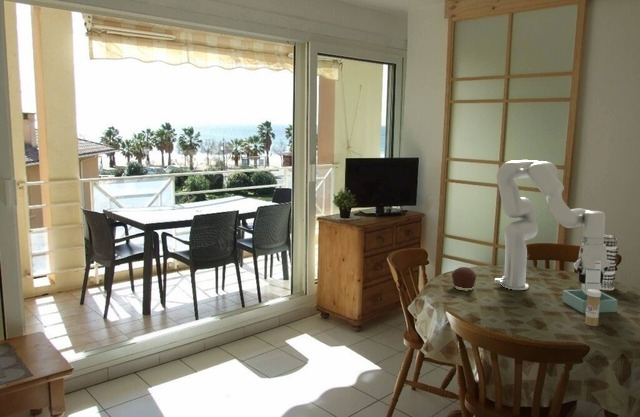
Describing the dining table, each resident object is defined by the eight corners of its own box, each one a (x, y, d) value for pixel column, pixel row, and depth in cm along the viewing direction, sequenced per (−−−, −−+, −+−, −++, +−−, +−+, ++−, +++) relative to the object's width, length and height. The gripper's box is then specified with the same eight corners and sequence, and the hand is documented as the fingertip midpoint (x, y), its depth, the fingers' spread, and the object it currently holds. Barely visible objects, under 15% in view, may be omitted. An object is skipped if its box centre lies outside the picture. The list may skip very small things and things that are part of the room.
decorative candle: (618, 290, 231) (622, 237, 228) (597, 290, 233) (600, 237, 229) (610, 285, 240) (614, 233, 237) (590, 284, 242) (593, 233, 238)
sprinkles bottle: (583, 324, 191) (586, 290, 189) (586, 321, 195) (588, 287, 193) (597, 327, 188) (599, 293, 186) (599, 324, 192) (602, 290, 190)
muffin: (451, 284, 244) (452, 264, 243) (475, 285, 241) (476, 265, 240) (451, 291, 233) (451, 270, 232) (476, 293, 230) (476, 272, 229)
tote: (582, 313, 203) (583, 301, 203) (562, 301, 218) (563, 290, 217) (616, 311, 205) (617, 300, 204) (594, 300, 219) (595, 289, 218)
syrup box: (600, 295, 207) (602, 261, 205) (584, 294, 208) (586, 260, 206) (595, 291, 212) (597, 257, 210) (580, 290, 214) (582, 257, 212)
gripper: (578, 243, 203) (576, 286, 205) (619, 242, 204) (616, 284, 207) (568, 239, 210) (565, 280, 213) (607, 238, 211) (604, 279, 214)
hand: (590, 282), depth 210 cm, fingers closed on syrup box, 6 cm apart
